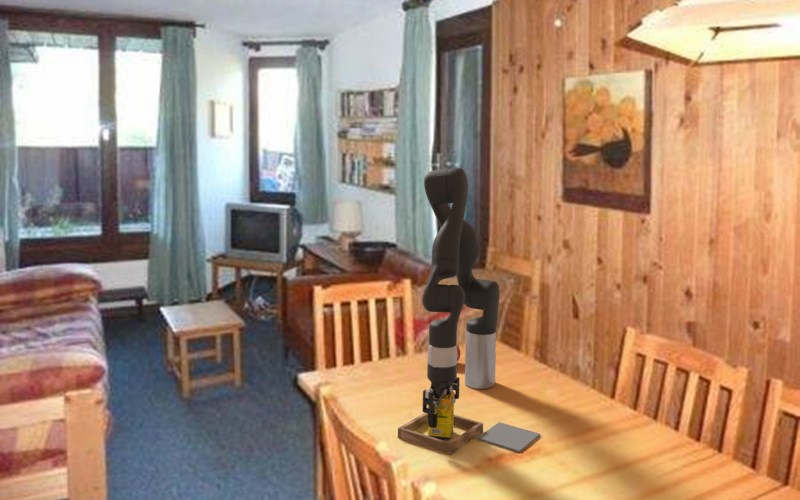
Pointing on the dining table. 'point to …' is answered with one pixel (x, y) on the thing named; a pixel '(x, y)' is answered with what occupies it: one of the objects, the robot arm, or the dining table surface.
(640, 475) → the dining table surface
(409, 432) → the frame
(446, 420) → the supplement box
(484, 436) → the mat
